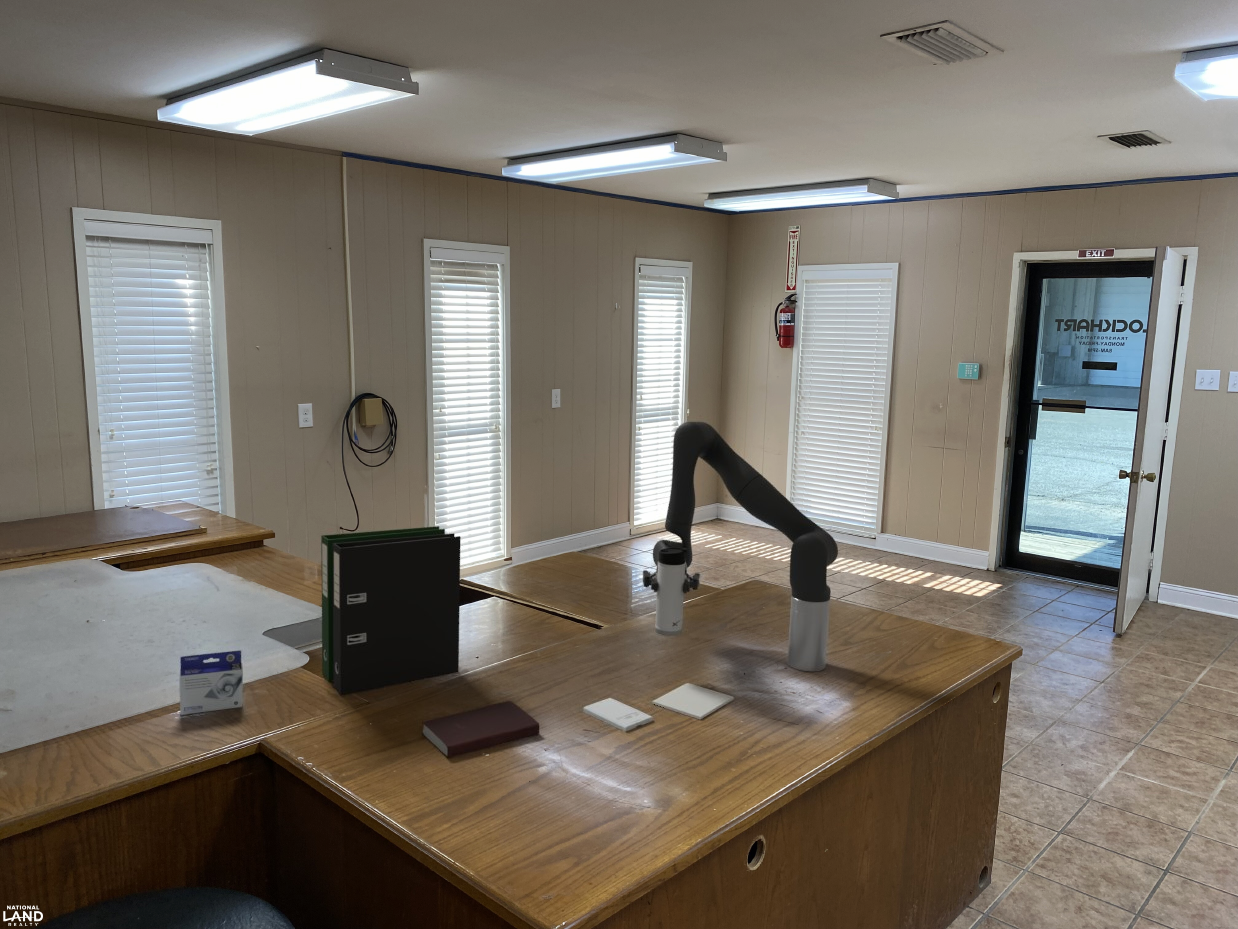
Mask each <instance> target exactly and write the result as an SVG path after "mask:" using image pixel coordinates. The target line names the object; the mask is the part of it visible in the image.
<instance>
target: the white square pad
mask: <svg viewBox="0 0 1238 929" xmlns="http://www.w3.org/2000/svg"><path fill="white" fill-rule="evenodd" d="M733 700H734V696H731V695H728V694H726V693H723V692H719V691H717V690H716V691H715V690H712V689H710V688H705V687H704V686H703V687H701V686H699V685H695V684H692V683H689V682H686V683H684V684H683V685H681V686H678V687H677V688H674V689H673V690H671V691H669V692H667V693H666V694H664V695H662V696H660V697H658V698H656V699H654V700H652V702H651V703H652V705H654V704H655V706H657V705H658V707H660V706H661V707H660V708H663V707H664V709H667V710H670V711H672V712H676V713H678V714H682V715H685V716H687V717H691V718H693V719H697V720H702V719H704V718H705V717H708V715H710V714H712V713H713V712H715V711H717V710H718V709H720V708H723V706H725V705H727V704H729V703H730V702H732V701H733Z"/></svg>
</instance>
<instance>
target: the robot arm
mask: <svg viewBox="0 0 1238 929" xmlns="http://www.w3.org/2000/svg"><path fill="white" fill-rule="evenodd" d="M699 458H700V459H701V460H702V461H704V462H705V463H707V465H709V466H710V467H711V468H712V469H713V470H714V471H715V472H717V474H718V475H719V477H720V478H721V480H722V482H723V483H724V485H725V488H726V489H727V491H728V493H729V494H730V496H731V497H732V498H733V499H734V500H735V501H736V503H738V504H739V506H741V507H742V508H743V509H744V510H745V511H746V512H747V513H749V514H750V515H751V516H753V517H754V518H756V519H757V520H759V521H761V522H763V523H764V524H766V525H768V526H769V527H772V528H774V529H776V530H777V531H779V532H781V534H783V535H784V536H785V537H786V538H788V540H789V541H791V542H792V545H791V547H790V556H789V557H790V558H789V585H790V588H791V596H790V597H791V598H790V613H789V631H788V645H787V661H786V663H787V665H788V666H789V667H790V668H793V669H795V670H799V671H804V672H820V671H823V670H824V669H826V662H827V650H828V649H827V648H828V639H829V638H828V636H829V635H828V634H829V622H830V621H829V620H830V607H831V587H830V586H829V585H828V584H827V576H828V575H827V574H828V567H829V566H830V565H832V564H833V563H834V562H836V560H837V558H838V555H839V549H838V544H837V542H836V540H835V539H834V537H833V536H832V535H831V534H830V533H828V532H827V531H826V530H825V529H823V528H822V527H821V526H820V525H818V524H817V523H815V522H814V521H813V520H812V519H810V518H809V517H808V516H806V515H805V514H804V513H803V512H801V510H799V509H798V508H797V507H796V506H795V505H794V504H793V503H792V502H791V501H790V500H789V499H788V498H787V497H786V496H785V495H783V493H782V492H780V491H779V490H778V489H777V488H776V487H775V486H774V484H772V483H771V482H770V481H769V480H768V479H767V478H766V477H765V476H763V475H762V474H761V473H760V472H759V471H758V470H756V469H755V468H754V467H753V465H751V464H750V463H749V462H747V461H746V460H745V458H743V457H741V456H740V455H739V454H738V453H737V452H735V450H734V449H732V448H731V446H730V445H729V444H728V442H726V441H725V439H724V438H723V436H721V435H720V434H719V432H718V431H717V430H716V429H715V428H714V427H713V426H712V425H711V424H709V423H708V422H704V421H686V422H682V423H681V424H680V425H678V426H677V428H676V429H675V432H674V434H673V446H672V472H671V473H672V475H671V487H670V494H669V495H670V496H669V501H668V502H669V503H668V506H667V512H666V517H665V523H664V528H665V530H666V531H667V532H668V533H670V534H673V535H675V536H677V537H678V538H680V540H681V542H678V541H673V540H668V539H660V540H658V541H656V543H655V545H653V546H654V547H653V550H652V559H653V563H654V565H655V566H656V570H655V571H654V573H651V571H650V572H649V571H648V570H643V571H642V584H643V587H644V588H650V590H652V591H653V592H654V593H657V576H658V559H659V551H661V550H662V549H665V548H676V547H677V548H687V551H688V552H687V553H686V552H685V580H684V594H685V595H686V594H688V593H689V592H690V591H691V589H692V590H693V591H697V590H699V589H698V588H699V587H700V579H701V573H698V572H695V573H694V574H692V575H689V573H688V568H689V567H690V566H692V562H693V547H692V538H691V537H692V527H693V526H692V525H693V520H694V515H695V511H696V493H695V480H694V479H695V470H696V466H697V462H698V459H699Z"/></svg>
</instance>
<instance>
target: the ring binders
mask: <svg viewBox="0 0 1238 929" xmlns="http://www.w3.org/2000/svg"><path fill="white" fill-rule="evenodd" d="M461 537H462V536H460V535H459V536H455V533H446V529H445V528H440V526H438V525H436V526H435V525H434V526H426V527H425V526H423V527H409V528H399V529H387V530H386V529H385V530H375V531H374V530H373V531H359V532H348V533H346V532H345V533H336V534H325V535H324V534H322V535H321V537H320V538H321V543H320V545H321V548H320V549H321V550H320V551H321V552H320V553H321V663H322V664H321V671H322V672H321V675H322V676H323V677H324V678H325V679H326V681H327V682H328V683H330V682H333V689H334V691H336V693H337V694H338V695H339V696H340V697H342V696H348V695H353V694H358V693H362V692H368V691H374V690H377V689H382V688H388V687H394V686H397V685H402V684H408V683H413V682H417V681H422V680H428V679H432V678H433V679H434V678H439V677H441V676H446V675H448V676H449V675H453V674H457V673H458V674H459V670H460V669H459V668H460V667H459V665H460V664H459V662H460V661H459V660H460V659H459V658H460V604H461V603H460V599H461V598H460V597H461V594H460V592H461V590H460V588H461V540H462V538H461Z"/></svg>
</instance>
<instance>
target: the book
mask: <svg viewBox="0 0 1238 929" xmlns="http://www.w3.org/2000/svg"><path fill="white" fill-rule="evenodd" d="M421 724H423V728H422V732H420V734H421V735H422V736H424V737H426V738H427V739H428V740H429V741H430V742H431V743H432V744H433V745H434V746H435V747H437V749H438V750H439V751H441V752H442V753H443V754H444V755H445V756H446V759H448V758H454V757H458V756H461V755H465V754H470V753H473V752H477V751H480V750H484V749H488V748H492V747H493V748H494V747H497V746H500V745H504V744H507V743H512V742H516V741H519V740H524V739H528V738H532V737H537V736H538V735H540V724H539V722H538V721H537V720H536V719H535V718H534V717H533V716H531V715H530V714H529V713H528V712H526V711H525V710H524V709H522V708H521V707H520V706H519V705H517V704H516V703H515V702H514V701H511V700H507V701H503V702H498V703H494V704H490V705H485V706H482V707H481V706H480V707H478V708H474V709H470V710H465V711H462V712H458V713H453V714H449V715H444V716H439V717H435V718H431V719H428V720H423V721H422V722H421Z"/></svg>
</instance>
